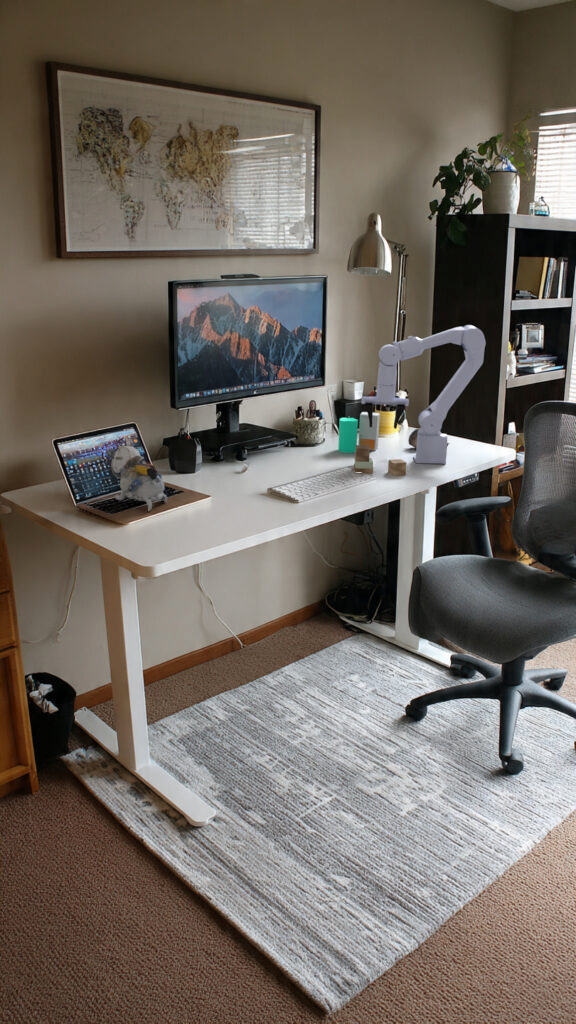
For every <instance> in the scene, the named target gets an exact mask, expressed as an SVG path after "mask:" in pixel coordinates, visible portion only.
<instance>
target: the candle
mask: <svg viewBox="0 0 576 1024" xmlns="http://www.w3.org/2000/svg"><path fill="white" fill-rule="evenodd" d="M338 422H339V424H338V444H337V445H338V446H337V447H338V448H337V450H338V452H340V453H346V454H350V453H351V454H353V453H356V445H358V429H359V427H358V426H359V424H358V423H359V420H358V419H356V418H354V417H341V418H339V421H338Z"/></svg>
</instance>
